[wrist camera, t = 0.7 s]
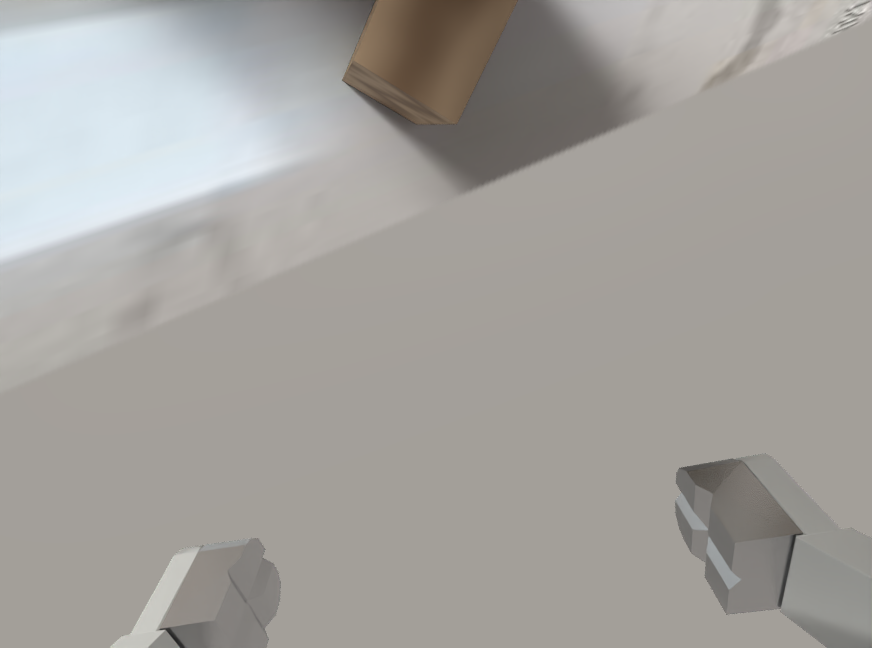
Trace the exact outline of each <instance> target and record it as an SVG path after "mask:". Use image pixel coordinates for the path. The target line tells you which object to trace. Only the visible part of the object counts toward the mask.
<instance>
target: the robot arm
mask: <svg viewBox="0 0 872 648" xmlns="http://www.w3.org/2000/svg"><path fill="white" fill-rule="evenodd" d="M676 484H677V485H678V487H679V489H680V491H681V492H682V493H681V494H680V496H679V497H678V498H677V499H676V500H675V509H676V512H675V513H676V517H677V521H678V526H679V529H680V531H681V534H682V536H683V539H684V541H685V542H686V544H687V546H688V548H689V550H690V552H691V553H692V554H693V555H695V556H696V557H698V558H699V559H701V560H702V561H704V562H705V563H706V567H705V578H706V580H707V582H708V583H709V585H710V586H711V589H712V590H713V592H714V594H715V595H716V597H717V599H718V601H719V602H720V604H721V606H722V608H723V609H724V611H725V613H726V614H735V613H736V614H737V613H746V612H755V611H763V610H764V611H765V610H774V609H781V610H780V612H781V613H783V614H784V615H785V616H787V617H788V618H789V619H790V620H792V621H793V622H794V623H796V624H797V625H798V626H799V627H801V628H802V629H803V630H805V631H806V632H807V633H809V634H810V635H811V636H812V637H814V638H815V639H816V640H818V641H819V642H820V643H821V644H823V645H824V646H825V647H827V648H872V538H871V537H869V536H867V535H865V534H863V533H861V532H858V531H857V530H855V529H853V528H845V529H841V528H840V527H839V526H838V525H837V524H836V523H835V522H834V521H833V520H832V519H831V518H830V517H829V516H828V515H827V513H826V512H825V511H824V510H822V508H821V507H820V506H819V505H818V504H817V503H816V502H815V501H814V500H813V499H812V498H811V497H810V496H809V495H808V494H807V493H806V492H805V490H804V489H802V487H801V486H800V485H799V484H798V483H797V482H796V481H795V480H794V479H793V478H792V477H791V476H790V475H789V474H788V473H787V472H786V471H785V469H783V467H782V466H781V465H780V464H779V463H778V462H777V461H776V460H775V459H774V458H773V457H771V456H770V455H768V454H760V455H753V456H747V457H741V458H736V459H728V460H722V461H716V462H710V463H705V464H699V465H693V466H687V467H683V468H679V469H678V471H677V473H676ZM264 552H265V548H264V546H263V545H262V543H261V542H260V540H259V539H258V538H254V539H245V540H237V541H229V542H222V543H214V544H207V545H202V546H195V547H188V548H182V549H181V550H180V551H179V552H177V553H176V554H175V555H174V556H173V558H172V560H171V562H170V564H169V565H168V567H167V569H166V571H165V573H164V574H163V576H162V578H161V580H160V582H159V584H158V585H157V587H156V589H155V591H154V592H153V594H152V596H151V598H150V600H149V601H148V603H147V605H146V607H145V609H144V611H143V613H142V614H141V616H140V618H139V619H138V621H137V623H136V625H135V627H134V629H133V630H132V632H131V634H130V635H124V636H122V637H121V638H120V639H119V640H117V641H116V642H115V643H114V644H113V645H112V646H111V647H110V648H266V647H267V643H268V640H269V639H268V636H267V633H266V631H265V627H266V626H267V625H268V624H269V622H270V621H271V620H272V619H273V618H274V616H275V615H276V612H277V609H278V605H279V601H280V588H281V582H280V578H279V573H278V571H277V569H276V567H275V565H274V564H273V563H271V562H270V561H268V560H266V559H264V558H262V557H263V554H264Z"/></svg>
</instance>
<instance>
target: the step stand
mask: <svg viewBox="0 0 872 648" xmlns="http://www.w3.org/2000/svg"><path fill="white" fill-rule="evenodd" d="M517 1H518V0H376V1H375V3H374V6H373V8H372V10H371V13H370V15H369V17H368V20H367V22H366V25H365V27H364V29H363V32H362V34H361V37H360V39H359V41H358V44H357V46H356V48H355V51H354V53H353V56H352V58H351V60H350V63H349V65H348V68H347V70H346V72H345V75H344V77H343V79H342V81H344V82H346V83H347V84H349V85H351V86H352V87H354V88H356V89H358V90H359V91H361V92H363V93H364V94H366V95H368V96H369V97H371V98H373V99H374V100H376V101H378V102H379V103H381V104H383V105H384V106H386V107H388V108H390V109H391V110H393V111H395V112H396V113H398V114H400V115H401V116H403V117H405V118H406V119H408V120H410V121H411V122H413V123H415V124H457V123H458V121H459V119H460V117H461V115H462V113H463V111H464V109H465V107H466V105H467V103H468V100H469V98H470V96H471V94H472V92H473V90H474V88H475V86H476V84H477V82H478V80H479V78H480V76H481V74H482V72H483V70H484V68H485V66H486V64H487V62H488V60H489V58H490V56H491V54H492V52H493V50H494V48H495V46H496V44H497V42H498V40H499V38H500V36H501V34H502V32H503V30H504V28H505V26H506V24H507V21H508V19H509V17H510V15H511V13H512V11H513V9H514V7H515V5H516V3H517Z"/></svg>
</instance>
